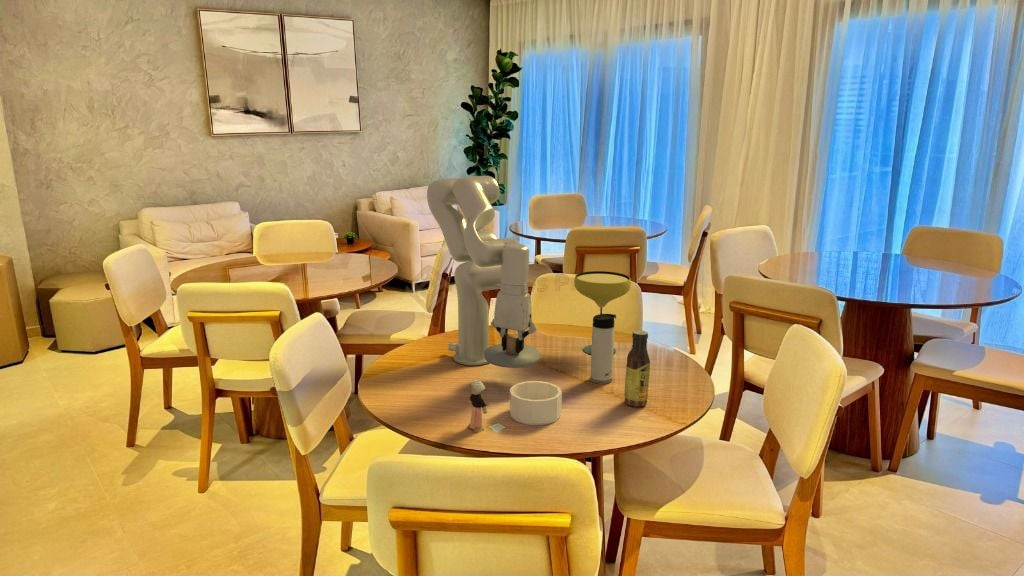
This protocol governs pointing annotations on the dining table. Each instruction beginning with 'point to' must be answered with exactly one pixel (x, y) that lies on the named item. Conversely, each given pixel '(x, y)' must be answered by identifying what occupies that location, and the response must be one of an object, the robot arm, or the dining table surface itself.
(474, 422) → the grandmother figurine
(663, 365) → the dining table surface
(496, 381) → the dining table surface
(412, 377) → the dining table surface
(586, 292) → the cocktail glass
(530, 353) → the lid
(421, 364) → the dining table surface
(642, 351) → the sauce bottle
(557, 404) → the bowl
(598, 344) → the travel mug
